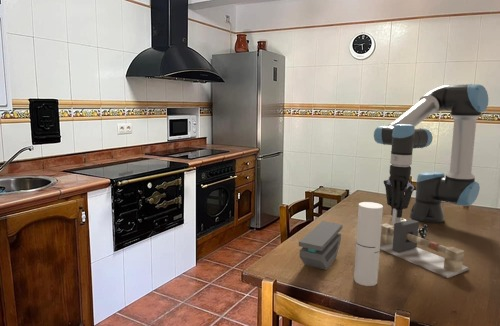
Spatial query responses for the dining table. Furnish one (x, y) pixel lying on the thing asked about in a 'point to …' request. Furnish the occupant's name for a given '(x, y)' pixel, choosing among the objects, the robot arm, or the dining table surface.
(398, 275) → the dining table surface
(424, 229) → the valve
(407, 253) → the rail
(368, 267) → the cylindrical container
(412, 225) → the collar
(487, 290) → the dining table surface
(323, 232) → the grey grooved block
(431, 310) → the dining table surface
